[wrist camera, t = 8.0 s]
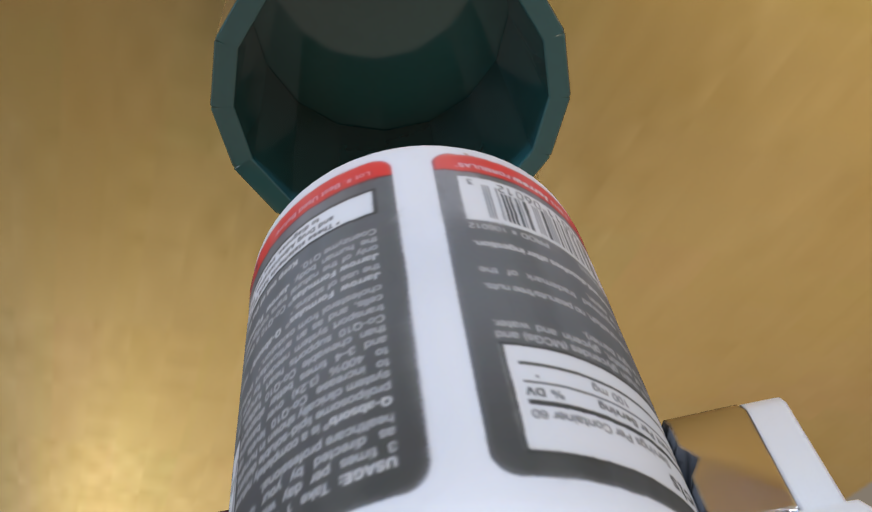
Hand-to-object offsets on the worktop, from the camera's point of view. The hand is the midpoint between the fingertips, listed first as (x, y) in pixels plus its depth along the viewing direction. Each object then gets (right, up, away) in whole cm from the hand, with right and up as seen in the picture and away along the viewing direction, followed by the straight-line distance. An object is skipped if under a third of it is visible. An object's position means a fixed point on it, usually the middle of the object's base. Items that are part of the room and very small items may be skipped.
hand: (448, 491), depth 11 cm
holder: (-2, +11, +16) cm, 20 cm away
